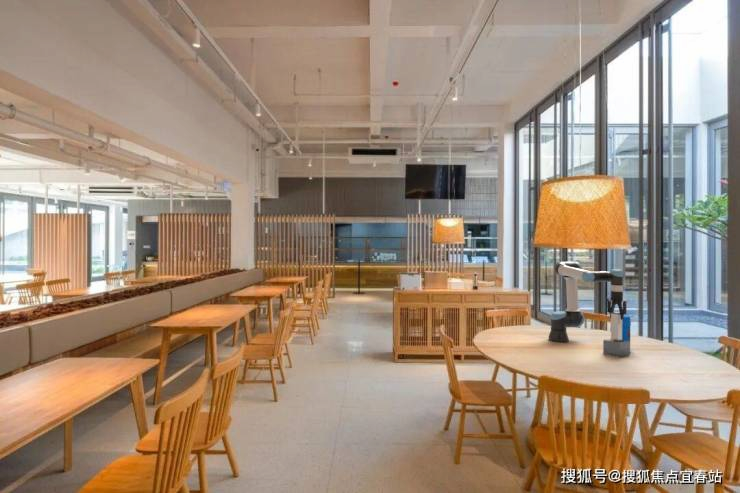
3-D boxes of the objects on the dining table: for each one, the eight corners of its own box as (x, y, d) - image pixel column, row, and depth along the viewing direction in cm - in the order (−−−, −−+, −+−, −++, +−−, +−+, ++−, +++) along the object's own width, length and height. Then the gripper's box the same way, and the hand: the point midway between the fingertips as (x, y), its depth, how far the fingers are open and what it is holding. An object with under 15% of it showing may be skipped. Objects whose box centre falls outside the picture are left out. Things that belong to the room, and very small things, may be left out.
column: (610, 342, 299) (610, 312, 298) (614, 341, 302) (615, 311, 301) (617, 344, 294) (617, 313, 294) (622, 343, 297) (622, 312, 297)
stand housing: (603, 353, 300) (603, 338, 300) (613, 351, 306) (613, 336, 306) (620, 357, 290) (620, 341, 290) (629, 355, 296) (629, 339, 295)
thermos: (625, 347, 318) (625, 314, 318) (633, 350, 307) (633, 317, 307) (610, 346, 319) (611, 314, 319) (617, 350, 309) (617, 317, 308)
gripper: (601, 290, 303) (601, 321, 304) (626, 292, 288) (626, 326, 288) (607, 289, 307) (607, 320, 307) (632, 292, 291) (632, 324, 292)
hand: (616, 323), depth 298 cm, fingers closed on column, 5 cm apart
